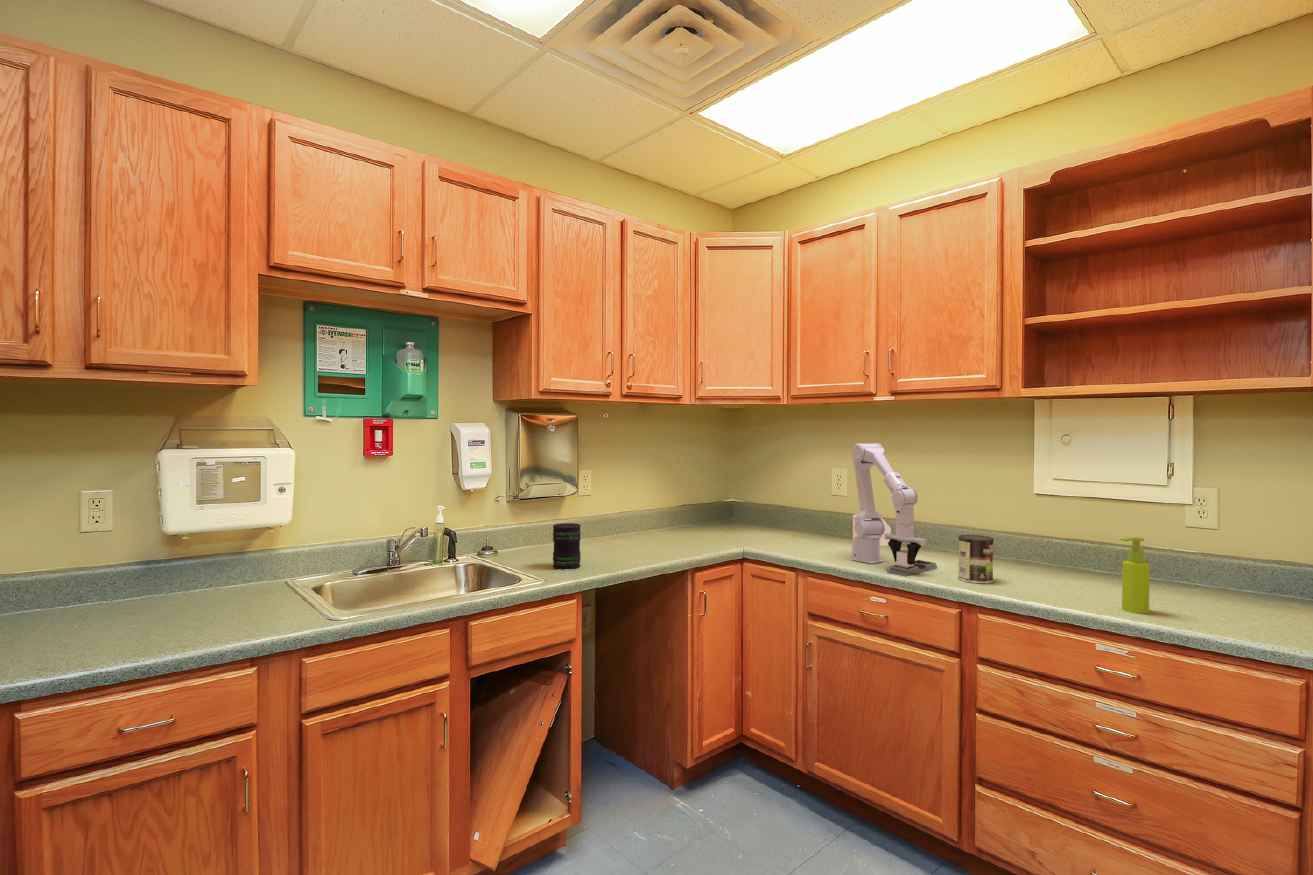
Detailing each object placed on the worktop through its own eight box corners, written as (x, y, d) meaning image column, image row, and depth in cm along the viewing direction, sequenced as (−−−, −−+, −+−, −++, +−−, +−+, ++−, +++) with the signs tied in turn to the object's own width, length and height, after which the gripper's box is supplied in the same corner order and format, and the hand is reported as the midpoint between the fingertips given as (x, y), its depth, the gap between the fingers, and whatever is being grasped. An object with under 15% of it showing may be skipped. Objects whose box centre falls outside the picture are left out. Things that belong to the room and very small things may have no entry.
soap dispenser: (1113, 607, 174) (1113, 535, 174) (1136, 607, 174) (1137, 535, 174) (1130, 613, 168) (1131, 539, 168) (1154, 613, 168) (1155, 539, 168)
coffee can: (998, 580, 205) (999, 537, 205) (984, 585, 198) (985, 541, 198) (966, 574, 213) (967, 533, 213) (952, 579, 206) (952, 536, 206)
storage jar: (547, 568, 222) (547, 526, 222) (563, 562, 230) (563, 522, 230) (570, 571, 217) (570, 528, 217) (586, 565, 226) (586, 524, 226)
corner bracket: (852, 542, 274) (853, 514, 274) (874, 540, 277) (875, 513, 277) (868, 546, 264) (868, 518, 263) (890, 545, 267) (890, 517, 267)
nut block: (896, 568, 217) (896, 550, 217) (903, 567, 219) (903, 548, 219) (907, 570, 214) (907, 552, 214) (913, 569, 216) (913, 550, 216)
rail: (886, 572, 216) (886, 566, 216) (918, 564, 228) (918, 559, 228) (905, 576, 211) (905, 570, 211) (937, 568, 223) (937, 562, 222)
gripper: (930, 525, 213) (930, 565, 213) (892, 520, 224) (892, 558, 225) (919, 527, 209) (918, 567, 209) (880, 521, 220) (880, 560, 220)
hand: (904, 562), depth 216 cm, fingers open, 5 cm apart
